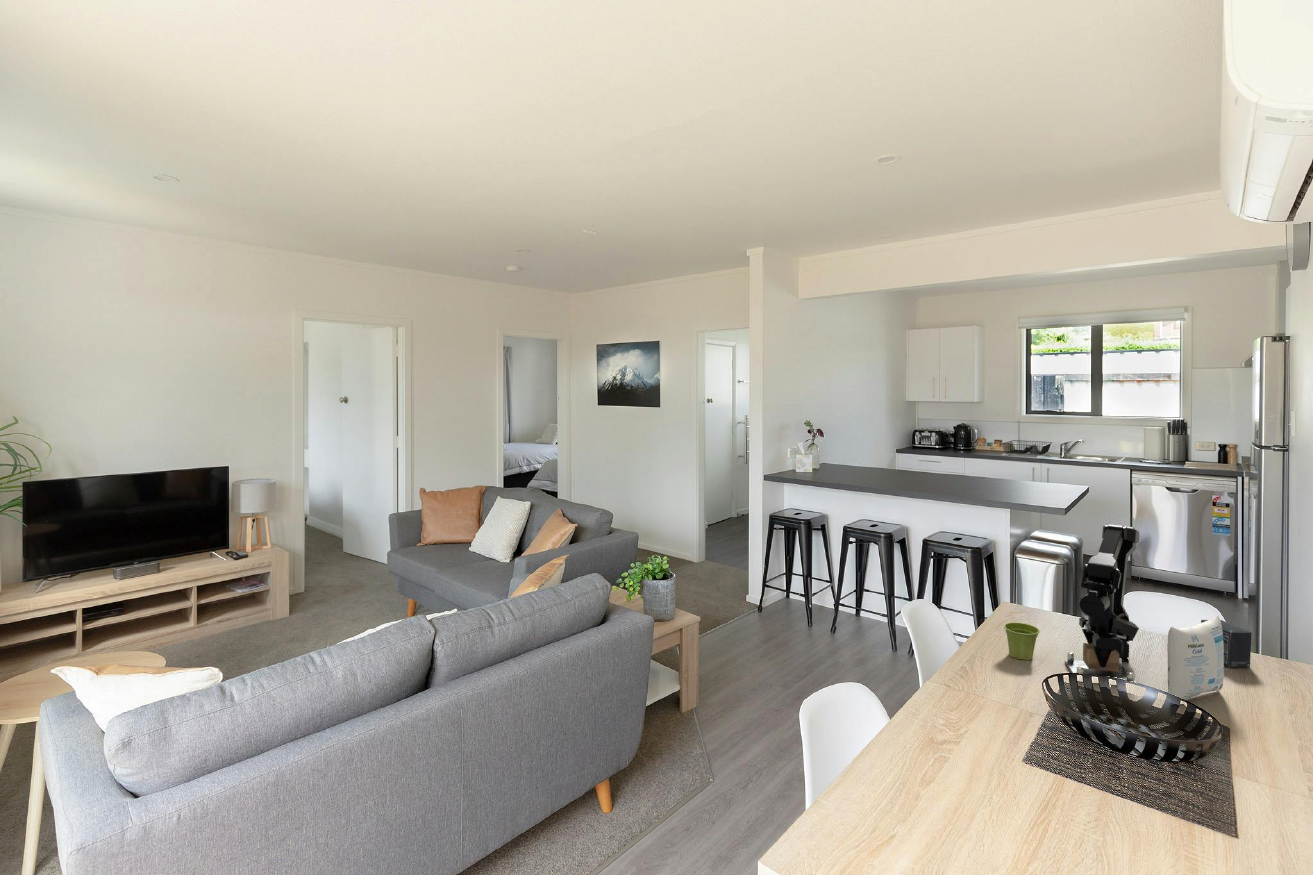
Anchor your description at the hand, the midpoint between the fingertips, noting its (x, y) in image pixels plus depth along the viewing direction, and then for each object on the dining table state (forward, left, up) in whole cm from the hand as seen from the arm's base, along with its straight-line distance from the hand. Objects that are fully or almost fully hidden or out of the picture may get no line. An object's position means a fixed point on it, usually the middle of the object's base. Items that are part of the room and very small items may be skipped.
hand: (1099, 662), depth 182 cm
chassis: (0, 0, -4) cm, 4 cm away
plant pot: (-18, +8, -4) cm, 20 cm away
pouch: (+19, -9, -4) cm, 21 cm away
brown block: (0, 0, -1) cm, 1 cm away
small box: (+36, +21, -4) cm, 42 cm away
